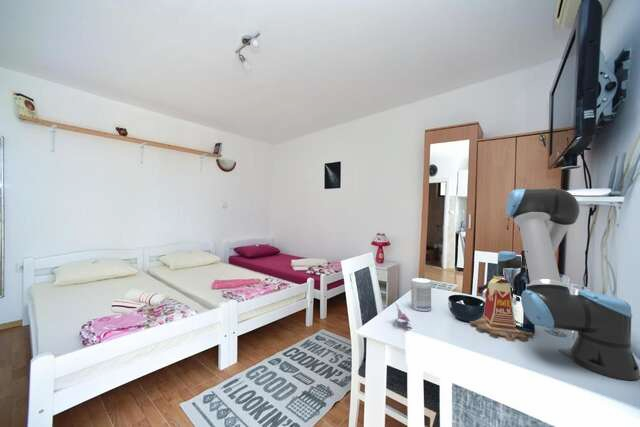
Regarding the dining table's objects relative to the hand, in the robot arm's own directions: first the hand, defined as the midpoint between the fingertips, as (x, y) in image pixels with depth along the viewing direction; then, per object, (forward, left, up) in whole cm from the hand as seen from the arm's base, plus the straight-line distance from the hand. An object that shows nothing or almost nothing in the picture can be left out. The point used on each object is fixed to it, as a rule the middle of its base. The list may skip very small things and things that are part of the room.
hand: (498, 298), depth 107 cm
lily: (-5, +38, -14) cm, 41 cm away
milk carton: (+4, -2, -11) cm, 12 cm away
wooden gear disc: (+4, -2, -14) cm, 15 cm away
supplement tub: (+19, +28, -14) cm, 37 cm away
